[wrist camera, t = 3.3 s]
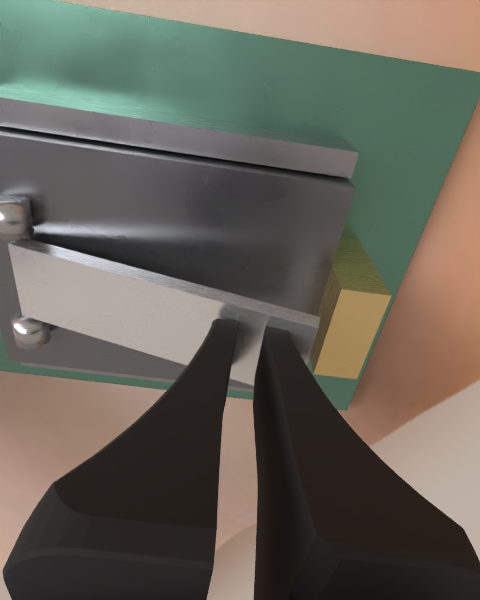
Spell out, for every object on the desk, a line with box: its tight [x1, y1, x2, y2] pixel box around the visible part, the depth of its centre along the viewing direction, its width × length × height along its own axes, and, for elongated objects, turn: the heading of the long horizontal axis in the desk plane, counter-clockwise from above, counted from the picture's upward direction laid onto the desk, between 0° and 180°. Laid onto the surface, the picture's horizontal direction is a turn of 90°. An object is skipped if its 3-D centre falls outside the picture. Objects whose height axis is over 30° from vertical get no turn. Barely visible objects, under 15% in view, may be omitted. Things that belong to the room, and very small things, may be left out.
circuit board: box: [0, 0, 480, 410], centre depth 15 cm, size 20×16×5 cm
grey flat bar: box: [8, 238, 320, 386], centre depth 12 cm, size 10×3×1 cm, turn 82°
